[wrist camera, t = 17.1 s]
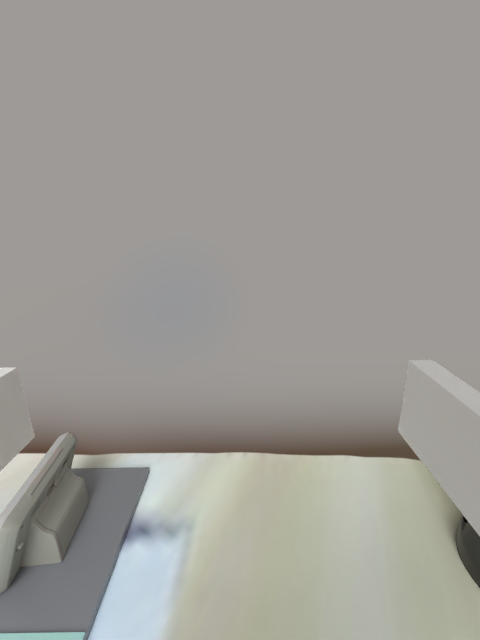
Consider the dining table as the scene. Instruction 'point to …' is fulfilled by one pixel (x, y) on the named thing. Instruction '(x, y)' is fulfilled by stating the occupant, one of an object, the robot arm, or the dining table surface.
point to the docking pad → (75, 564)
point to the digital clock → (42, 513)
